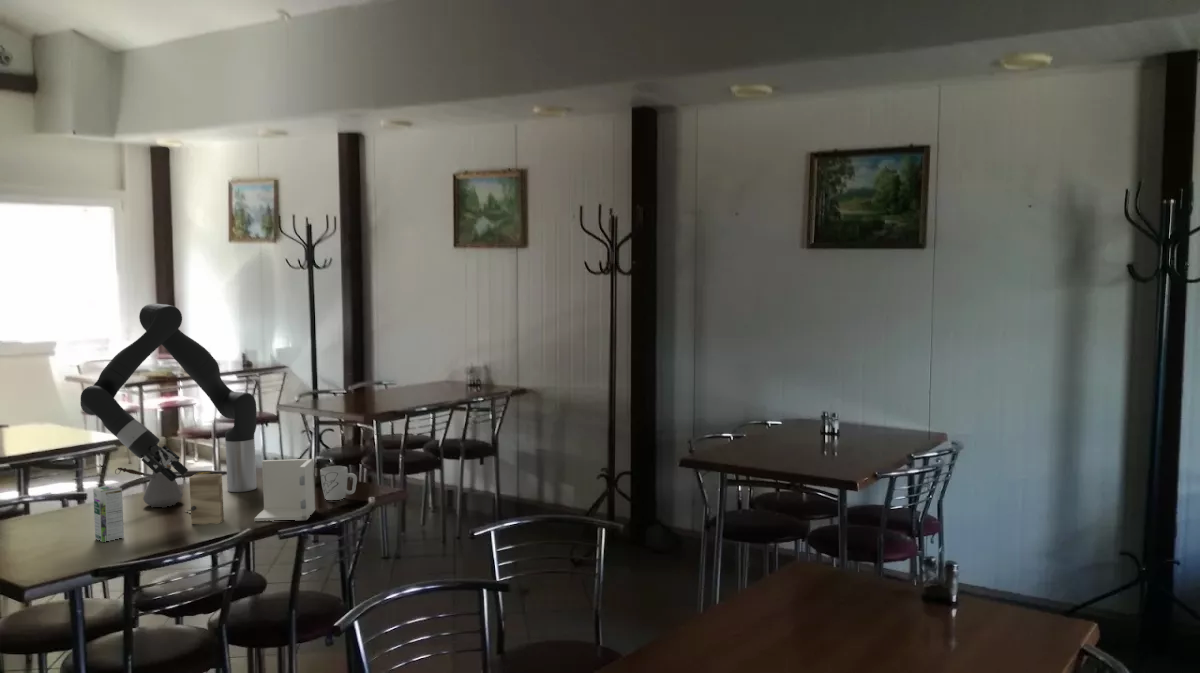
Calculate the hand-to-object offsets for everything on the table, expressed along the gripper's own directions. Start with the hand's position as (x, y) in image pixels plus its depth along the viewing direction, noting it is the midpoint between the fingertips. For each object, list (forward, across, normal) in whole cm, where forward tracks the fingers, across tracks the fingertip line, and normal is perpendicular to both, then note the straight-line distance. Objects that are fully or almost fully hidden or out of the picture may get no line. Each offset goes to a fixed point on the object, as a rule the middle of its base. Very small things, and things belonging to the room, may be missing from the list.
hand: (180, 476), depth 275 cm
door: (+15, 0, +5) cm, 16 cm away
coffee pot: (-2, +20, +22) cm, 30 cm away
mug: (+39, +23, -19) cm, 49 cm away
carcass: (+30, +3, -10) cm, 32 cm away
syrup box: (0, -14, +21) cm, 25 cm away
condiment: (+11, +14, +9) cm, 20 cm away
